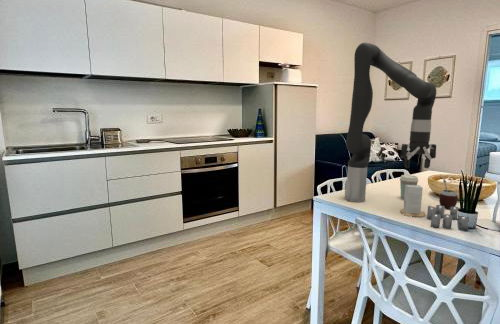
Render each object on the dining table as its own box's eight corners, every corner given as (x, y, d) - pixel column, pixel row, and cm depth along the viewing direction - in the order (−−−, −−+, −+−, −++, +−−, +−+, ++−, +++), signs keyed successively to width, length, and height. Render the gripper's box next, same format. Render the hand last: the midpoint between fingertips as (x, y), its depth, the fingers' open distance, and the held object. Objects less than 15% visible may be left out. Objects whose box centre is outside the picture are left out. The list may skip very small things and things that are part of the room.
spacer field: (438, 231, 118) (439, 218, 117) (413, 216, 135) (414, 205, 134) (490, 230, 119) (492, 218, 118) (459, 215, 136) (460, 204, 135)
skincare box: (417, 211, 139) (419, 185, 138) (420, 214, 135) (423, 187, 133) (402, 210, 141) (404, 184, 139) (405, 213, 137) (407, 186, 135)
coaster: (407, 217, 133) (407, 216, 133) (395, 210, 143) (395, 208, 143) (430, 217, 133) (430, 215, 133) (416, 209, 143) (416, 208, 143)
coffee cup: (418, 202, 155) (421, 178, 153) (400, 201, 157) (402, 177, 155) (413, 197, 164) (415, 175, 162) (396, 196, 165) (398, 174, 163)
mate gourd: (456, 211, 142) (460, 178, 139) (436, 208, 146) (440, 176, 143) (455, 206, 148) (459, 175, 146) (436, 204, 152) (439, 174, 150)
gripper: (408, 131, 129) (405, 169, 131) (442, 131, 129) (438, 169, 132) (399, 129, 136) (396, 166, 139) (431, 129, 137) (427, 166, 139)
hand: (416, 167), depth 135 cm, fingers open, 8 cm apart
